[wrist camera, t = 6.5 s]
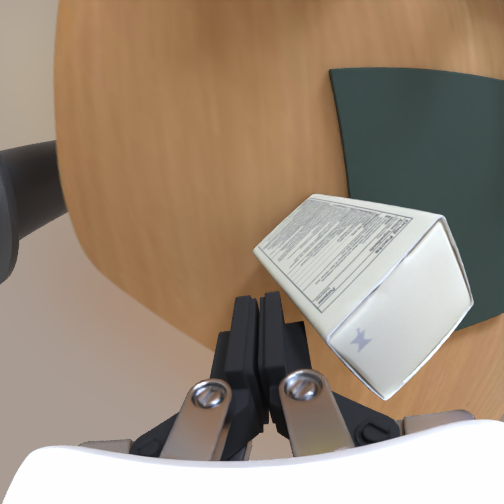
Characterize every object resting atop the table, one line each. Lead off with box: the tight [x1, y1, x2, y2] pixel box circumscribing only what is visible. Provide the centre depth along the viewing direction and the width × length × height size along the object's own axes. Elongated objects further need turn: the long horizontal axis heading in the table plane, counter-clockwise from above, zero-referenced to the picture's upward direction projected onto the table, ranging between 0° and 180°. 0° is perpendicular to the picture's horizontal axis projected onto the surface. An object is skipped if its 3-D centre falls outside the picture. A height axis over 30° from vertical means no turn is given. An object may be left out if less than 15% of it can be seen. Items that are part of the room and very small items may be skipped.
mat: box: [329, 68, 504, 332], centre depth 17 cm, size 16×20×1 cm
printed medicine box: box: [253, 194, 474, 400], centre depth 12 cm, size 5×4×10 cm
